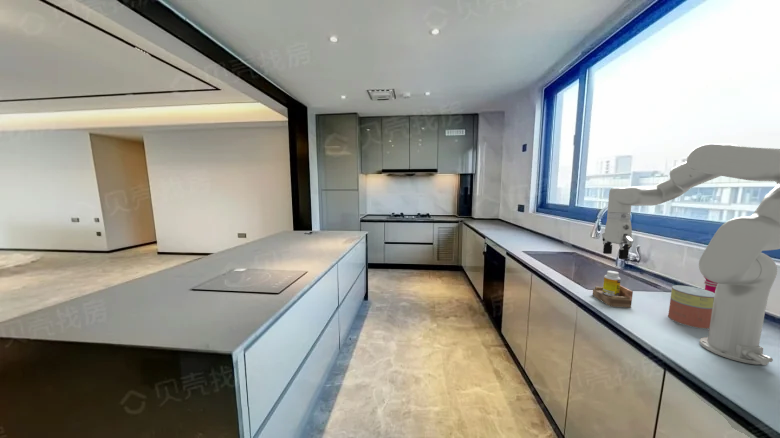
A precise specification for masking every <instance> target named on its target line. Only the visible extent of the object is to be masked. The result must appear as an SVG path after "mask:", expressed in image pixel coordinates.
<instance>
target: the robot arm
mask: <svg viewBox="0 0 780 438" xmlns="http://www.w3.org/2000/svg"><path fill="white" fill-rule="evenodd" d="M669 177H670V178H669V179H667V180H665V181H663V182H660V183H658V184H656V185H654V186H645V185H644V186H627V187H622V186H619V187H618V186H617V187H611V188H610V189H609V192H608V202H607V203H608V204H607V213H606V215H607V217H606V223H605V226H604V232H603V233H601V237H602V244H603V247H602V249H603V250H602V253H603V255H604V254H605V255H612V253H613V245H612V244H615V245H618V246H619V248H620V249H618V260H628V259H629V251H630V250H631V248H632V247H633V244H634V239H632V237H633V236H632V235H633V234H632V233H633V231H632V230H633V229H632V222H631V212H632V206H635V207H637V206H639V207H641V206H645V207H646V206H647V207H648V206H650V207H651V206H653V207H654V206H658V205H661V204H664V203H667V202H669V201H672V200H674V199H677V198H679V197H681V196H682V195H684V194H685V193H687V192H688V191H689V190H690V189H692V188H694V187H696V186H699V185H701V184H704V183H707V182H708V181H712V180H714V179H716V178H719V177H725V178H731V179H739V180H745V181H753V182H776V184H775V186H774V188H773V189H771V190H770V191H769V192H768V193H767V194H766V195H765V196H764V197H763V198H762V199H761V201H760V203H759V205H758V206H757V207H756V209H755V211H754V212H753V213H752V214H750V215H745V216H743V215H742V216H738V217H734V218H732V219H729V220H727V221H725V222H723V224H721V226H719V228H718V229H717V230H716V232H715V233H714V234H713V236H712V238H711V240H710V241H709V243H708V245H706V247H705V249H704V251H703V252H702V254H701V256H700V258H699V261H698V270H699V272H700V273H701V275H702V276H703V278H704V277H705V278H707V279H708V280H710V281H712V282H715V283H718V284H717V287H716V290H715V295H714V301H713V308H712V314H711V321H710V327H709V329H708V334H707V335H708V336H704V337H701V338H699V345H700V346H701V347H703V348H704V349H706V350H707V351H709V352H711V353H713V354H715V355H718V356H720V357H724V358H726V359H728V360H732V361H736V362H739V363H744V364H747V365H748V364H749V365H762V366H767V365H768V364H769V363H772V362H773V361H774V359H773V357H771V356H768V355H767V354H765V353H763V352H764V347H763V346H760V343H761V336H762V331H763V325H764V321H765V320H764V319H765V314H766V310H767V305H768V300H769V295H770V293H771V289H772V287H773V284H774V282H775V281H776V278H777V276H778V275H777V274H778V266H777V264H776V262H775V261H774V260H773V258H772V257H770V256H769V255H768V254H766V253H764V252H765V251H774V250H780V148H771V147H770V148H769V147H767V148H766V147H756V146H755V147H751V146H743V145H741V146H740V145H738V144H733V143H718V142H717V143H716V142H714V143H705V144H701V145H699V146H697V147H695V148H694V149H692V150H691V151H690V152H689V154H688V155H687V158H686V161H685V162H682V163H680V164H678V165H676V166H674V167H672V168H670V171H669ZM705 278H704V279H705Z"/></svg>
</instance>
